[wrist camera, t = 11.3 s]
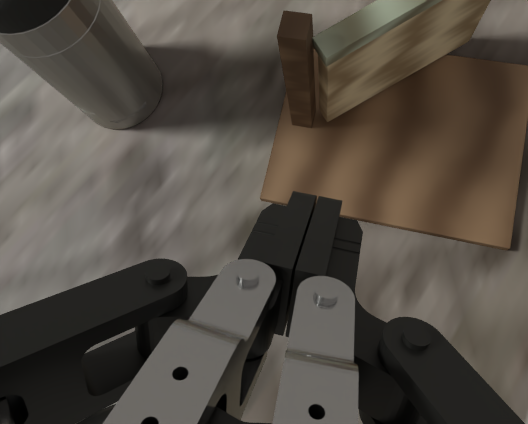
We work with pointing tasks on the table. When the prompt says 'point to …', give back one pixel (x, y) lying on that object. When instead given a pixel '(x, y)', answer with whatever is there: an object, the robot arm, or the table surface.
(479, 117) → the gate base
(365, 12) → the gate leaf
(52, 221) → the table surface
